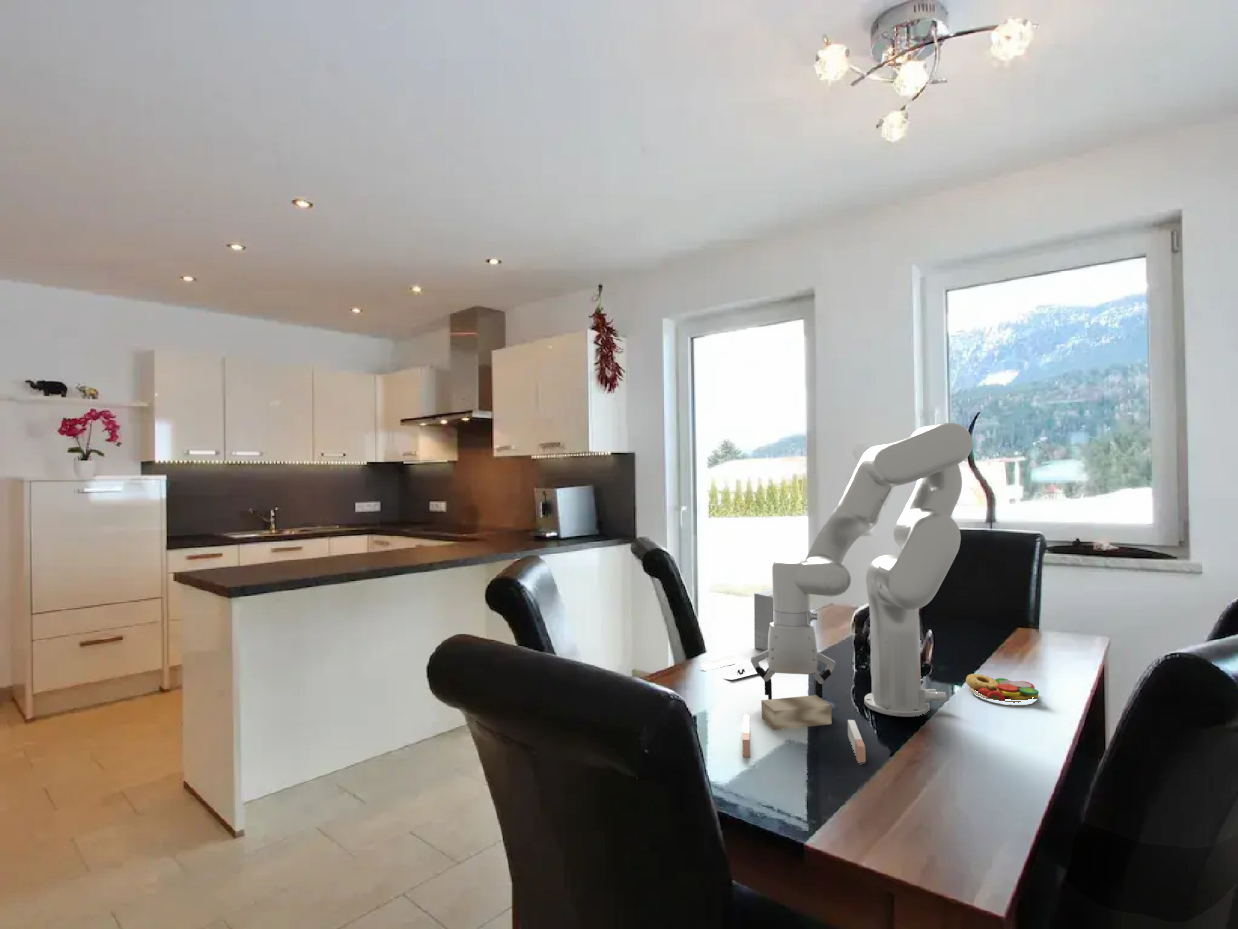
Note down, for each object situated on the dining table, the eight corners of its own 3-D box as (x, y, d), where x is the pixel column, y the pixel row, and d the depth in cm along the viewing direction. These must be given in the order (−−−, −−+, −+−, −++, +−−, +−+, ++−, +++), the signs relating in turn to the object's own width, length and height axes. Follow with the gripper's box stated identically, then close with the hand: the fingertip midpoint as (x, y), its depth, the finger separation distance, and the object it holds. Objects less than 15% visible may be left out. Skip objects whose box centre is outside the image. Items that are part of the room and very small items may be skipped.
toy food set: (961, 686, 150) (961, 671, 150) (1025, 688, 148) (1025, 674, 148) (981, 706, 137) (980, 691, 137) (1051, 710, 134) (1051, 694, 134)
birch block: (816, 714, 135) (815, 695, 135) (831, 725, 129) (831, 705, 129) (761, 720, 132) (761, 700, 132) (774, 731, 126) (774, 710, 126)
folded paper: (732, 684, 155) (732, 675, 155) (699, 671, 165) (699, 663, 166) (769, 675, 162) (769, 667, 162) (735, 663, 172) (735, 655, 172)
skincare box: (770, 642, 190) (768, 587, 190) (791, 647, 184) (790, 590, 185) (752, 648, 184) (751, 591, 184) (774, 653, 179) (773, 595, 179)
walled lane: (854, 736, 123) (854, 720, 123) (865, 764, 111) (865, 746, 111) (743, 730, 127) (743, 714, 127) (742, 756, 115) (742, 739, 115)
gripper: (832, 615, 140) (834, 695, 140) (749, 613, 144) (751, 691, 144) (836, 623, 133) (838, 708, 133) (749, 621, 137) (751, 703, 136)
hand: (793, 699), depth 138 cm, fingers open, 9 cm apart
